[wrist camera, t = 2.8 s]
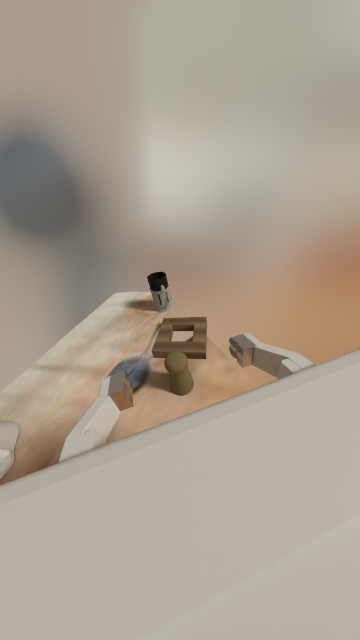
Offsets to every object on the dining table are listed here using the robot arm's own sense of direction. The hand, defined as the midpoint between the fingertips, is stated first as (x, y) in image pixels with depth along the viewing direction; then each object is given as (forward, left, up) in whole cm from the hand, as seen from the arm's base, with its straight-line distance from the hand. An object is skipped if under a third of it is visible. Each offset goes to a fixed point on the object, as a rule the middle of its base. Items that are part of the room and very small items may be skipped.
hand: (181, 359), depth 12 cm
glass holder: (+47, +18, -28) cm, 57 cm away
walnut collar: (+29, +8, -28) cm, 41 cm away
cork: (+13, +6, -28) cm, 31 cm away
